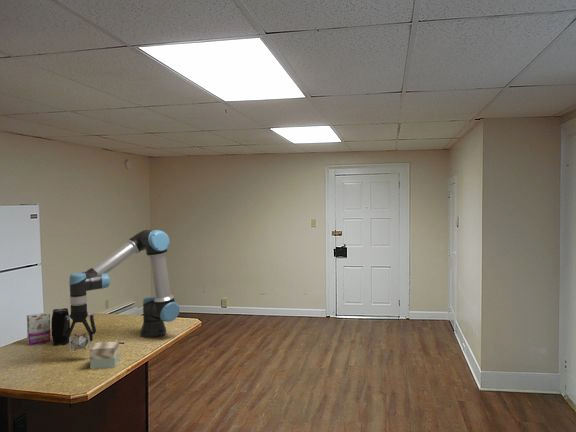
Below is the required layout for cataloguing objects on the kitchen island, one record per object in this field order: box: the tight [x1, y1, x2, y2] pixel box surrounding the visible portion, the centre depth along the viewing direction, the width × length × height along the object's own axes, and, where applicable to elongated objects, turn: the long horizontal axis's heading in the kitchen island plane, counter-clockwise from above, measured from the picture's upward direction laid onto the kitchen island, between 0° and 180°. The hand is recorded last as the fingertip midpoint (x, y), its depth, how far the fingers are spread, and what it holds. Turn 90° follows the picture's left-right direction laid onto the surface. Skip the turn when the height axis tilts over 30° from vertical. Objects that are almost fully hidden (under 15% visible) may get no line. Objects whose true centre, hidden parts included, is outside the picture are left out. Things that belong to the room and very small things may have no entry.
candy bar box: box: [26, 312, 51, 346], centre depth 257 cm, size 11×5×16 cm, turn 129°
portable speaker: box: [50, 307, 71, 346], centre depth 255 cm, size 9×9×20 cm
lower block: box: [89, 352, 119, 370], centre depth 221 cm, size 11×11×5 cm
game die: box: [70, 332, 88, 352], centre depth 228 cm, size 9×8×10 cm
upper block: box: [89, 340, 120, 361], centre depth 220 cm, size 11×11×5 cm
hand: (80, 348), depth 228 cm, fingers closed on game die, 8 cm apart
